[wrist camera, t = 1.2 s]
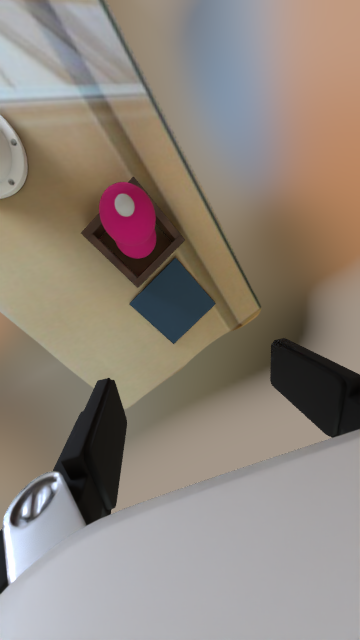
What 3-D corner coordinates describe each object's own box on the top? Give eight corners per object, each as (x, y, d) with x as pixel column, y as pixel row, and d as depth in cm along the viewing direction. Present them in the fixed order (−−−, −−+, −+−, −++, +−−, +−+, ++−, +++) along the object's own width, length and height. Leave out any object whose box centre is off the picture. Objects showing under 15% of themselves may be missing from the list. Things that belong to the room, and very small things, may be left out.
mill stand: (89, 238, 32) (80, 232, 28) (135, 189, 31) (133, 176, 27) (138, 286, 36) (137, 287, 32) (180, 243, 35) (185, 239, 31)
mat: (129, 303, 37) (129, 304, 36) (175, 257, 36) (175, 257, 35) (173, 343, 41) (173, 344, 41) (214, 303, 40) (215, 303, 40)
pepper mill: (115, 220, 32) (69, 148, 13) (153, 220, 33) (161, 153, 14) (121, 260, 34) (88, 246, 15) (156, 259, 35) (166, 245, 16)
